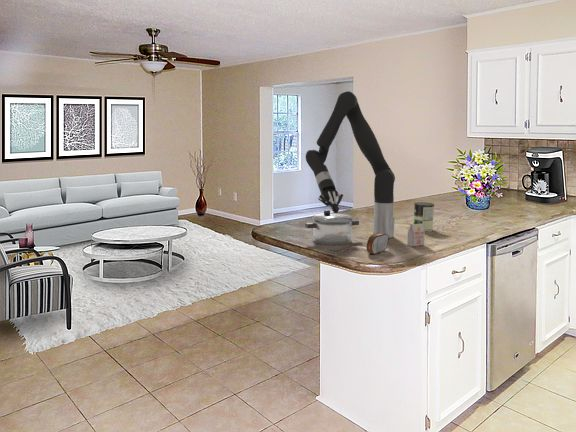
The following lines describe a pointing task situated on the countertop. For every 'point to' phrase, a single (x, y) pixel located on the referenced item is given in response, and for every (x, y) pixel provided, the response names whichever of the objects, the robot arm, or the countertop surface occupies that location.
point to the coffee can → (424, 215)
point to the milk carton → (416, 235)
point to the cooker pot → (331, 232)
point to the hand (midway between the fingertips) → (336, 211)
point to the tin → (377, 243)
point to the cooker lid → (332, 218)
